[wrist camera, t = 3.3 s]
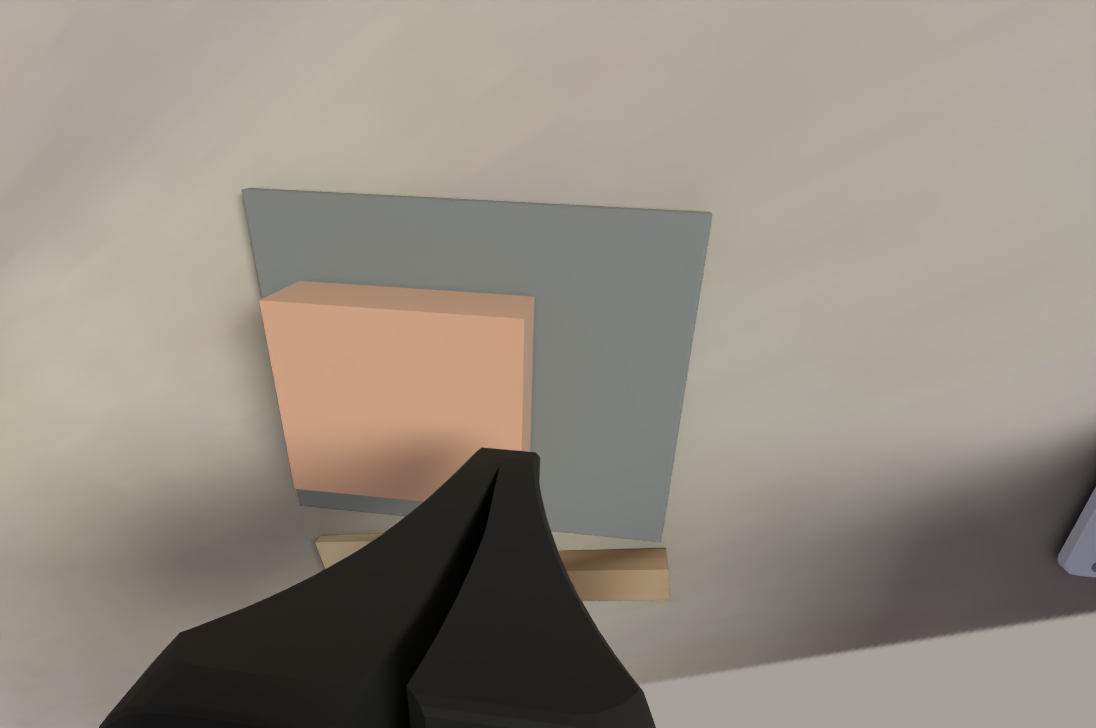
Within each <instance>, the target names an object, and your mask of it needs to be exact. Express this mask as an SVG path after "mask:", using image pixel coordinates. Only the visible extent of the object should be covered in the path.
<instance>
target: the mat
mask: <svg viewBox="0 0 1096 728" xmlns="http://www.w3.org/2000/svg"><path fill="white" fill-rule="evenodd" d="M242 193H243V199H244V204H245V209H246V215H247V220H248V226H249V231H250V236H251V242H252V247H253V253H254V258H255V264H256V269H257V274H258V280H259V285H260V291H261V296H262V299H263V298H265V297H267V296H269V295H271V294H273V293H275V292H277V291H280V290H282V289H284V288H286V287H288V286H290V285H292V284H294V283H296V282H298V281H310V282H325V283H340V284H355V285H370V286H385V287H400V288H415V289H430V290H445V291H460V292H475V293H490V294H505V295H520V296H535V299H534V334H533V370H532V405H531V440H530V452H536V453H537V454H538V455H539V456H540V480H539V483H540V490H541V496H542V500H543V504H544V508H545V513H546V517H547V520H548V523H549V527H550V530H551V531H555V532H565V533H575V534H585V535H594V536H604V537H614V538H624V539H634V540H643V541H653V542H661V539H662V533H663V526H664V520H665V513H666V507H667V501H668V494H669V488H670V482H671V475H672V469H673V463H674V456H675V450H676V443H677V437H678V431H679V424H680V418H681V412H682V405H683V399H684V392H685V386H686V380H687V373H688V367H689V361H690V354H691V348H692V342H693V335H694V329H695V322H696V316H697V310H698V303H699V297H700V291H701V284H702V278H703V271H704V265H705V259H706V252H707V246H708V240H709V233H710V227H711V221H712V213H710V212H698V211H679V210H660V209H641V208H622V207H603V206H583V205H564V204H545V203H526V202H507V201H488V200H469V199H450V198H430V197H411V196H392V195H373V194H354V193H335V192H316V191H297V190H277V189H258V188H248V189H242ZM297 491H298V496H299V502H300V505H301V506H311V507H320V508H330V509H340V510H350V511H360V512H369V513H379V514H389V515H399V516H407V515H408V514H409V513H410V512H412V511H413V510H414V509H415V508H417V507H418V506H419V505H420V504H422V503H423V501H413V500H403V499H393V498H383V497H373V496H362V495H352V494H342V493H332V492H322V491H312V490H302V489H297Z"/></svg>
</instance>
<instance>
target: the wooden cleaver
mask: <svg viewBox="0 0 1096 728" xmlns="http://www.w3.org/2000/svg"><path fill="white" fill-rule="evenodd" d="M382 534H383V533H380V534H355V535H329V536H320V537H319V538H318V539H317V541H316V542H315V544H316V546H317V549H318V551H319V554H320V557H321V559H322V562H323V565H324V567H325V569H326V568H328V567H330V566H332V565H333V564H335V563H337V562H339V561H341V560H342V559H344V558H346V557H348V556H349V555H351V554H353V553H355V552H356V551H358V550H359V549H361V548H363V547H364V546H366V545H367V544H369V543H370V542H372V541H373V540H375V539H376V538H378V537H379V536H381V535H382ZM558 552H559V555H560V557H561V560H562V562H563V564H564V567H565V569H566V571H567V573H568V576H569V578H570V580H571V582H572V584H573V586H574V588H575V590H576V592H577V594H578V596H579V597H580V599H581V601H654V600H670V591H669V576H668V564H667V556H666V548H665V549H618V550H572V551H558Z"/></svg>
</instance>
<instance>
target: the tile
mask: <svg viewBox="0 0 1096 728" xmlns="http://www.w3.org/2000/svg"><path fill="white" fill-rule="evenodd" d="M534 299H535V296H520V295H505V294H490V293H475V292H460V291H445V290H430V289H415V288H400V287H385V286H370V285H355V284H340V283H325V282H310V281H298V282H296V283H294V284H292V285H290V286H288V287H286V288H284V289H282V290H280V291H277V292H275V293H273V294H271V295H269V296H267V297H265V298H263V299H261V300H259V302H260V307H261V313H262V318H263V323H264V329H265V334H266V339H267V345H268V350H269V355H270V361H271V366H272V371H273V377H274V382H275V387H276V393H277V398H278V403H279V409H280V414H281V420H282V425H283V430H284V436H285V441H286V446H287V452H288V457H289V462H290V468H291V473H292V478H293V484H294V489H302V490H312V491H322V492H332V493H342V494H352V495H362V496H373V497H383V498H393V499H403V500H413V501H423V502H424V501H425V500H426V499H427V498H428V497H430V496H431V495H432V494H433V493H434V492H435V491H436V490H437V489H438V488H439V487H441V486H442V485H443V484H444V483H445V482H446V481H447V480H448V479H449V478H450V477H451V476H452V475H453V474H454V473H455V472H456V471H457V470H458V469H459V468H460V467H461V466H462V465H463V464H464V463H465V462H466V461H467V460H468V459H469V458H470V457H471V456H472V455H473V454H474V453H475V452H476V451H478V450H479V449H480V448H481V447H483V448H494V449H505V450H516V451H528V452H530V440H531V405H532V370H533V334H534Z"/></svg>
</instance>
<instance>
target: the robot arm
mask: <svg viewBox="0 0 1096 728" xmlns="http://www.w3.org/2000/svg"><path fill="white" fill-rule="evenodd" d="M539 480H540V456H539V455H538V454H537V453H536V452H528V451H516V450H505V449H494V448H483V447H481V448H480V449H479V450H478V451H476V452H475V453H474V454H473V455H472V456H471V457H470V458H469V459H468V460H467V461H466V462H465V463H464V464H463V465H462V466H461V467H460V468H459V469H458V470H457V471H456V472H455V473H454V474H453V475H452V476H451V477H450V478H449V479H448V480H447V481H446V482H445V483H444V484H443V485H442V486H441V487H439V488H438V489H437V490H436V491H435V492H434V493H433V494H432V495H431V496H430V497H428V498H427V499H426V500H425V501H424V502H423V503H422V504H420V505H419V506H418V507H417V508H415V509H414V510H413V511H412V512H410V513H409V514H408V515H407V516H406V517H404V518H403V519H402V520H401V521H399V522H398V523H397V524H396V525H394V526H393V527H392V528H390V529H389V530H387V531H386V532H385V533H383V534H382V535H381V536H379V537H378V538H376V539H375V540H373V541H372V542H370V543H369V544H367V545H366V546H364V547H363V548H361V549H359V550H358V551H356V552H355V553H353V554H351V555H349V556H348V557H346V558H344V559H342V560H341V561H339V562H337V563H335V564H333V565H332V566H330V567H328V568H326V569H325V570H323V571H321V572H319V573H318V574H316V575H314V576H312V577H310V578H308V579H306V580H304V581H302V582H300V583H298V584H296V585H294V586H292V587H290V588H288V589H286V590H284V591H282V592H280V593H277V594H275V595H273V596H271V597H269V598H266V599H264V600H262V601H260V602H257V603H255V604H253V605H251V606H248V607H246V608H243V609H241V610H238V611H236V612H233V613H231V614H228V615H225V616H223V617H220V618H218V619H215V620H213V621H210V622H207V623H205V624H202V625H200V626H197V627H195V628H192V629H189V630H186V631H183V632H180V633H179V634H178V635H177V636H176V637H175V639H174V640H173V641H172V642H171V643H170V644H169V645H168V646H167V647H166V648H165V649H164V650H163V652H162V653H161V654H160V655H159V656H158V657H157V658H156V659H155V660H154V662H153V663H152V664H151V665H150V666H149V668H148V669H147V670H146V671H145V672H144V673H143V675H142V676H141V677H140V678H139V679H138V681H137V682H136V683H135V684H134V685H133V686H132V688H131V689H130V690H129V691H128V692H127V694H126V695H125V696H124V697H123V698H122V699H121V701H120V702H119V703H118V704H117V705H116V707H115V708H114V709H113V710H112V711H111V712H110V714H109V715H108V716H107V717H106V719H105V720H104V721H103V723H102V724H101V725H100V727H99V728H656V727H655V724H654V721H653V718H652V715H651V712H650V709H649V707H648V704H647V701H646V698H645V695H644V692H643V691H642V689H641V688H640V687H639V686H638V684H637V683H636V682H635V680H634V679H633V678H632V677H631V675H630V674H629V673H628V672H627V670H626V669H625V667H624V666H623V665H622V663H621V662H620V661H619V659H618V658H617V657H616V655H615V654H614V652H613V651H612V649H611V648H610V646H609V645H608V643H607V642H606V640H605V639H604V637H603V636H602V634H601V633H600V631H599V630H598V628H597V627H596V625H595V623H594V621H593V620H592V618H591V616H590V615H589V613H588V611H587V609H586V608H585V606H584V604H583V603H582V601H581V599H580V597H579V596H578V594H577V592H576V590H575V588H574V586H573V584H572V582H571V580H570V578H569V576H568V573H567V571H566V569H565V567H564V564H563V562H562V560H561V557H560V555H559V552H558V550H557V547H556V544H555V542H554V539H553V536H552V533H551V530H550V527H549V523H548V520H547V517H546V513H545V508H544V504H543V500H542V496H541V490H540V483H539ZM1057 560H1058V563H1059V565H1060V566H1062V567H1063V568H1064V569H1065V570H1066V571H1067V572H1068V573H1069V574H1072V575H1076V576H1086V577H1096V487H1095V489H1094V491H1093V493H1092V495H1091V496H1090V498H1089V500H1088V502H1087V504H1086V506H1085V507H1084V509H1083V511H1082V513H1081V515H1080V517H1079V518H1078V520H1077V522H1076V524H1075V526H1074V527H1073V529H1072V531H1071V533H1070V535H1069V537H1068V538H1067V540H1066V542H1065V544H1064V546H1063V548H1062V549H1061V551H1060V553H1059V555H1058V559H1057Z"/></svg>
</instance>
